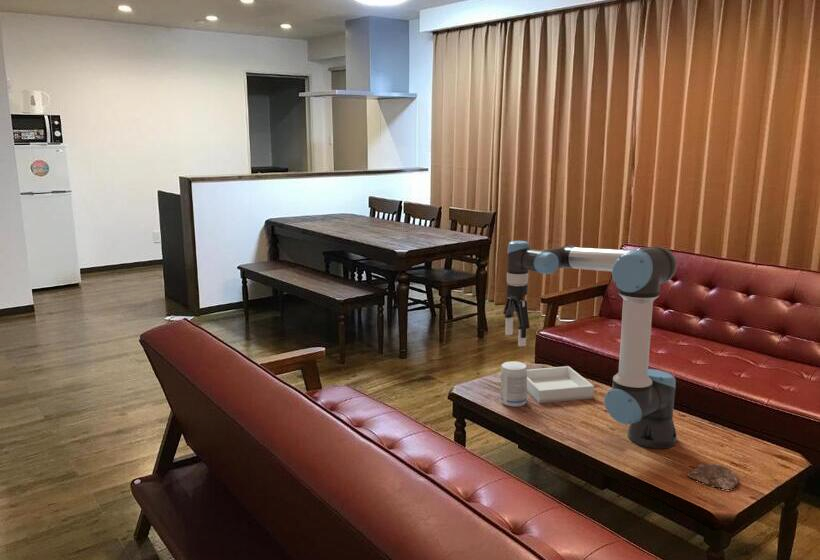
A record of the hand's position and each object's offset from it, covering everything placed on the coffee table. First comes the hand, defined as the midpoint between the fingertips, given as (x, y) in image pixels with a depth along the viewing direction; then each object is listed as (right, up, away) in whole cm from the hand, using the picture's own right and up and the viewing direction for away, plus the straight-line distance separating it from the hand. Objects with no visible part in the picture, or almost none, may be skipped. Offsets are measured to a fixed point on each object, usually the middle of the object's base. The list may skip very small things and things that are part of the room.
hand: (515, 340), depth 241 cm
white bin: (+18, -21, +17) cm, 32 cm away
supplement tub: (0, -24, +5) cm, 25 cm away
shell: (+50, -36, -49) cm, 79 cm away
